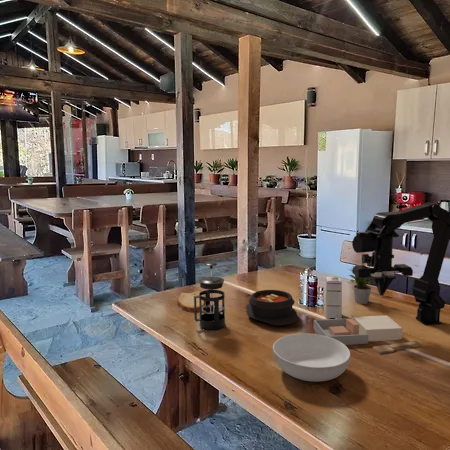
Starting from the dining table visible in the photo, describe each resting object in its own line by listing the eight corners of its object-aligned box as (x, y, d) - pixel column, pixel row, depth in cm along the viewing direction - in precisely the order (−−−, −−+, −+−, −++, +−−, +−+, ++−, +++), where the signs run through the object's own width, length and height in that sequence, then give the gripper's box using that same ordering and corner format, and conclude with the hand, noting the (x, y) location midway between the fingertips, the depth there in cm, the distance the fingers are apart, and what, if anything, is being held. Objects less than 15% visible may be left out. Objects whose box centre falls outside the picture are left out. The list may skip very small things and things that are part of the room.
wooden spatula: (413, 342, 132) (413, 339, 132) (421, 347, 129) (421, 344, 128) (372, 348, 128) (372, 345, 128) (379, 353, 125) (380, 350, 125)
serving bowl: (336, 401, 101) (337, 375, 100) (259, 378, 112) (259, 354, 111) (358, 365, 118) (359, 342, 117) (290, 348, 129) (290, 327, 128)
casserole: (312, 324, 148) (312, 301, 147) (266, 334, 140) (266, 310, 139) (275, 303, 170) (275, 283, 169) (234, 310, 163) (234, 289, 162)
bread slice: (198, 314, 160) (198, 305, 159) (163, 306, 169) (162, 297, 169) (224, 301, 175) (223, 292, 174) (189, 294, 184) (189, 286, 184)
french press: (221, 318, 154) (220, 258, 151) (231, 328, 146) (230, 264, 142) (191, 324, 150) (189, 262, 146) (199, 333, 141) (198, 268, 138)
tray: (351, 326, 146) (351, 318, 145) (367, 343, 132) (368, 334, 131) (313, 328, 145) (313, 319, 144) (326, 345, 131) (326, 336, 130)
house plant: (361, 311, 160) (363, 270, 157) (335, 300, 172) (336, 262, 169) (386, 304, 167) (388, 264, 164) (359, 294, 179) (360, 257, 176)
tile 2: (351, 318, 138) (346, 319, 138) (359, 324, 134) (353, 324, 133) (351, 332, 139) (345, 333, 139) (358, 339, 134) (353, 339, 134)
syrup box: (341, 319, 152) (343, 281, 150) (325, 318, 153) (326, 280, 151) (340, 313, 157) (341, 276, 155) (324, 312, 159) (325, 276, 156)
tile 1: (328, 326, 139) (328, 332, 140) (334, 333, 134) (334, 338, 135) (343, 325, 140) (342, 331, 140) (349, 331, 135) (349, 337, 135)
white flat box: (386, 326, 145) (386, 315, 144) (401, 339, 134) (402, 328, 134) (352, 327, 144) (353, 316, 144) (366, 341, 133) (366, 329, 133)
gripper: (398, 244, 148) (396, 287, 150) (347, 246, 146) (345, 289, 149) (414, 251, 137) (412, 297, 139) (360, 253, 135) (358, 299, 138)
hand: (381, 295), depth 141 cm, fingers closed
